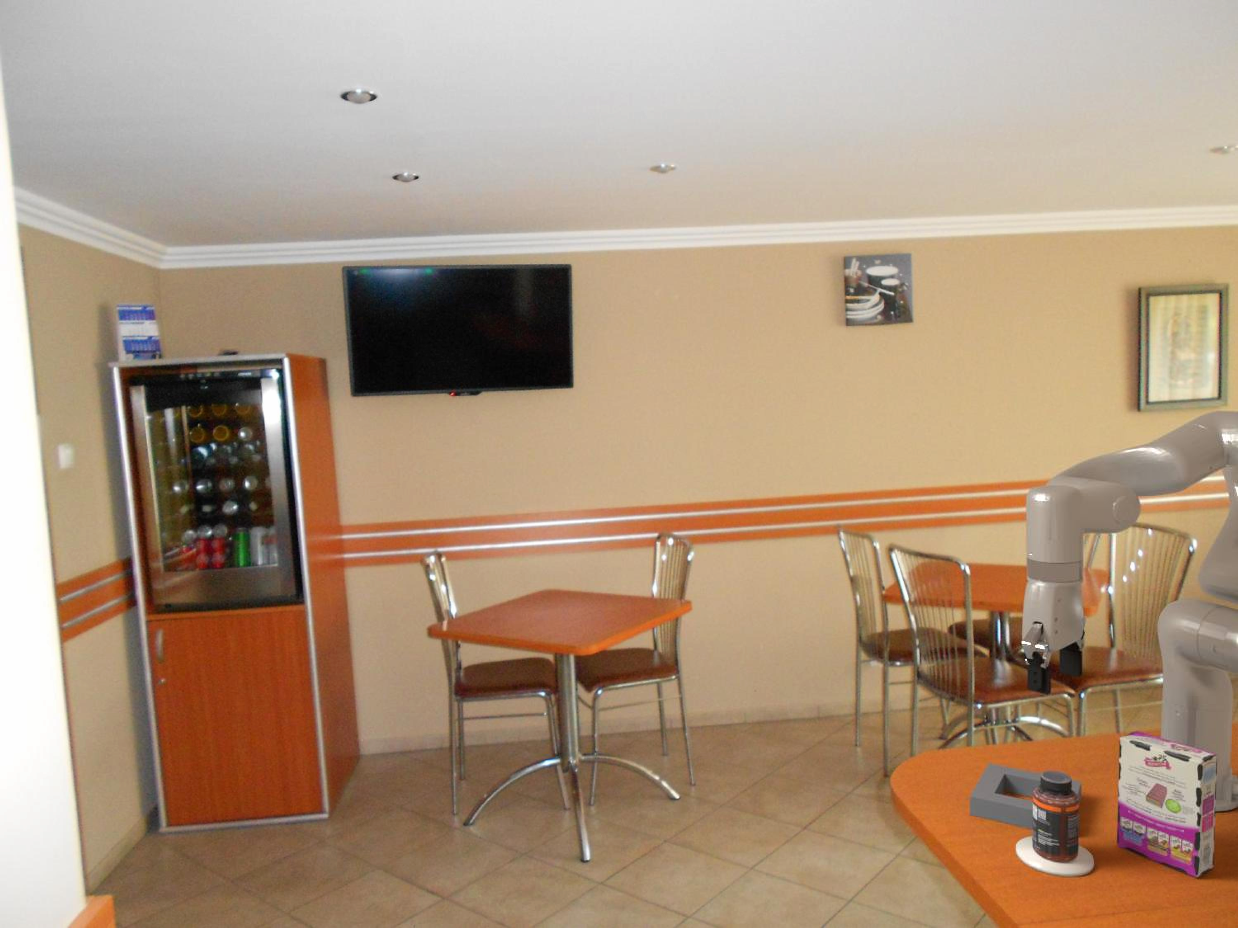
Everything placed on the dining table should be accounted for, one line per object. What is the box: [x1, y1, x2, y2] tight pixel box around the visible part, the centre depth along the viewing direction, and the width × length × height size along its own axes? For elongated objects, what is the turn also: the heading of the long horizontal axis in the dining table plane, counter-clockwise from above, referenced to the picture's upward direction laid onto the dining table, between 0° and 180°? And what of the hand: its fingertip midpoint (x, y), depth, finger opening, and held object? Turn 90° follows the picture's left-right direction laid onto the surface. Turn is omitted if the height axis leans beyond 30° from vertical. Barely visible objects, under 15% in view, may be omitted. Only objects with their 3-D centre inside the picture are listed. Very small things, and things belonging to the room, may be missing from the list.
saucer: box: [1015, 835, 1095, 878], centre depth 130 cm, size 10×10×1 cm
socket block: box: [969, 763, 1082, 830], centre depth 145 cm, size 14×14×3 cm
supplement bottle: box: [1031, 770, 1080, 862], centre depth 130 cm, size 6×6×11 cm
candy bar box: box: [1116, 730, 1217, 879], centre depth 129 cm, size 11×5×16 cm, turn 34°
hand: (1055, 682), depth 137 cm, fingers open, 9 cm apart
